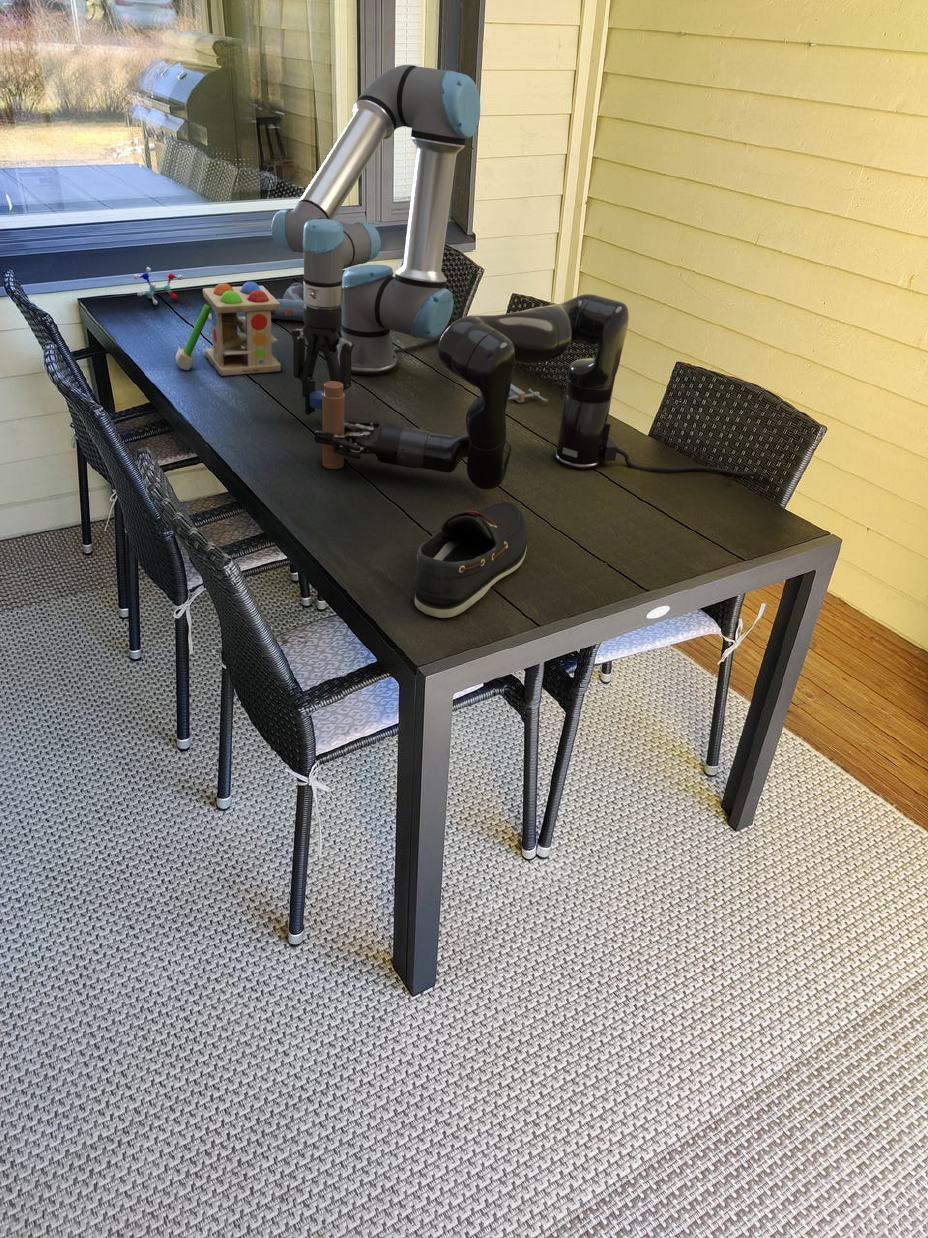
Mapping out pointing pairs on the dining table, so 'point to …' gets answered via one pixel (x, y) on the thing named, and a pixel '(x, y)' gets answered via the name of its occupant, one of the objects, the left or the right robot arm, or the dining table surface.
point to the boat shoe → (468, 558)
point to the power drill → (291, 304)
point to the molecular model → (154, 288)
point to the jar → (333, 421)
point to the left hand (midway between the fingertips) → (321, 415)
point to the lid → (316, 399)
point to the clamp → (523, 394)
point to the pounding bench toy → (229, 347)
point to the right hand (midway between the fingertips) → (319, 431)
